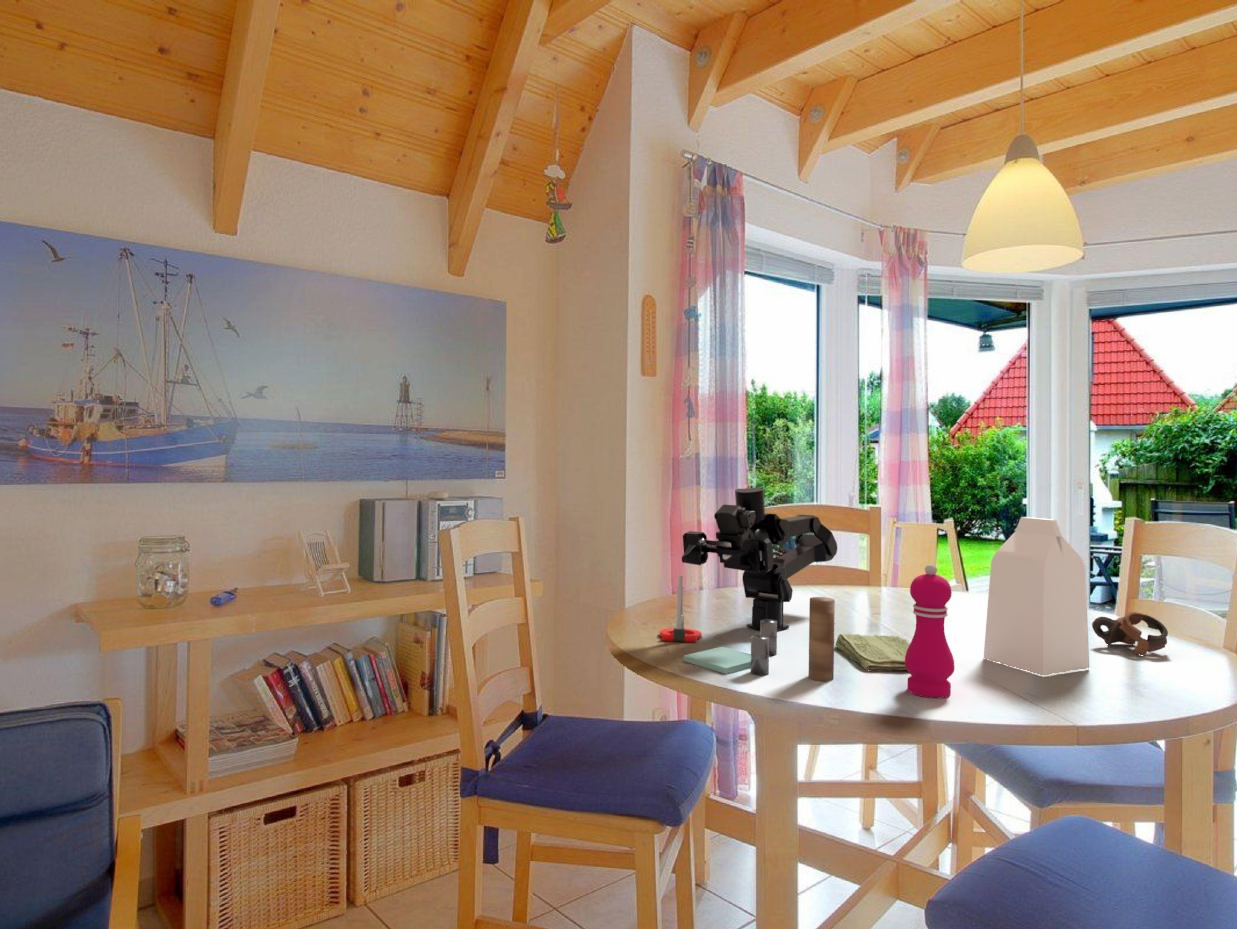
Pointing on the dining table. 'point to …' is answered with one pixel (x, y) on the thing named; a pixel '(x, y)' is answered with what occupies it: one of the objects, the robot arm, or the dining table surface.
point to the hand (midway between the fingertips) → (703, 562)
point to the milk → (1037, 602)
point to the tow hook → (680, 623)
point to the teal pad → (720, 659)
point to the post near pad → (759, 655)
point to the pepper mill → (929, 637)
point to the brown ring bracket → (1131, 632)
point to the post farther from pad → (770, 634)
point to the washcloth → (874, 651)
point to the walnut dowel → (821, 638)
